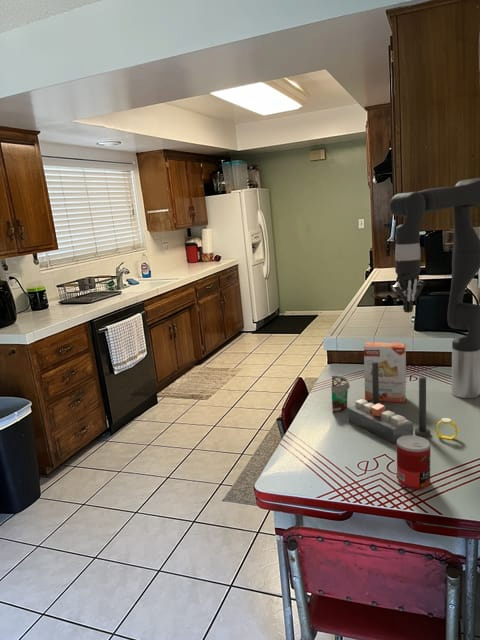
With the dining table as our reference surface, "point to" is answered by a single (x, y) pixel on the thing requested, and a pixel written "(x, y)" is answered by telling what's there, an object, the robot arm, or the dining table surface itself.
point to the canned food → (413, 462)
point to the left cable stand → (375, 382)
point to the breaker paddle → (378, 409)
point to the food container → (339, 393)
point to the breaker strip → (379, 422)
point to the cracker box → (386, 370)
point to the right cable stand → (422, 410)
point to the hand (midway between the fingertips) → (408, 312)
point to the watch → (446, 421)
